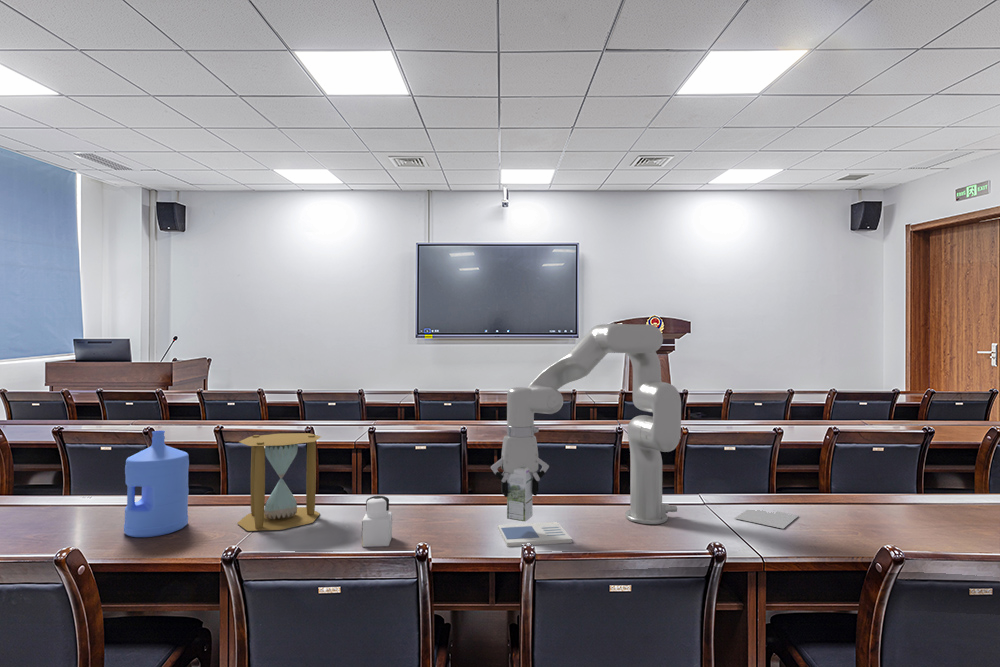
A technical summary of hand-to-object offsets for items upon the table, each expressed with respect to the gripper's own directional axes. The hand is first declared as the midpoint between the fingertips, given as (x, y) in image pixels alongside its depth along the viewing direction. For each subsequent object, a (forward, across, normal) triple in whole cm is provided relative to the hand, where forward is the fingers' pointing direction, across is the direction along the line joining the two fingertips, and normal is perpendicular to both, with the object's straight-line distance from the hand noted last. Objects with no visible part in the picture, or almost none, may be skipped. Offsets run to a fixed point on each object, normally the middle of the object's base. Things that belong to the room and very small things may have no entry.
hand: (519, 494), depth 151 cm
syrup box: (+7, 0, 0) cm, 7 cm away
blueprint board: (+12, -4, 0) cm, 12 cm away
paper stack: (+12, -79, +3) cm, 80 cm away
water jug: (+12, +102, -23) cm, 105 cm away
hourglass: (+12, +69, -26) cm, 75 cm away
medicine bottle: (+12, +39, -2) cm, 41 cm away
